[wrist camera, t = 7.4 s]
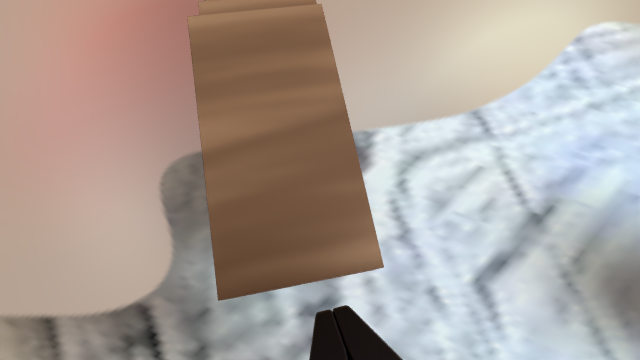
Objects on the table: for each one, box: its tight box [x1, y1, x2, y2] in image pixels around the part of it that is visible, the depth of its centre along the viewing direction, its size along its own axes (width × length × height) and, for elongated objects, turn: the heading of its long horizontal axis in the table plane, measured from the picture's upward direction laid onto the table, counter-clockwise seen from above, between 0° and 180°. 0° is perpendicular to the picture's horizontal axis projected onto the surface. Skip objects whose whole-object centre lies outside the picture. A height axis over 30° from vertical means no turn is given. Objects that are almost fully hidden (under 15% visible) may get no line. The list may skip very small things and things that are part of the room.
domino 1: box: [187, 4, 384, 300], centre depth 13 cm, size 2×5×10 cm
